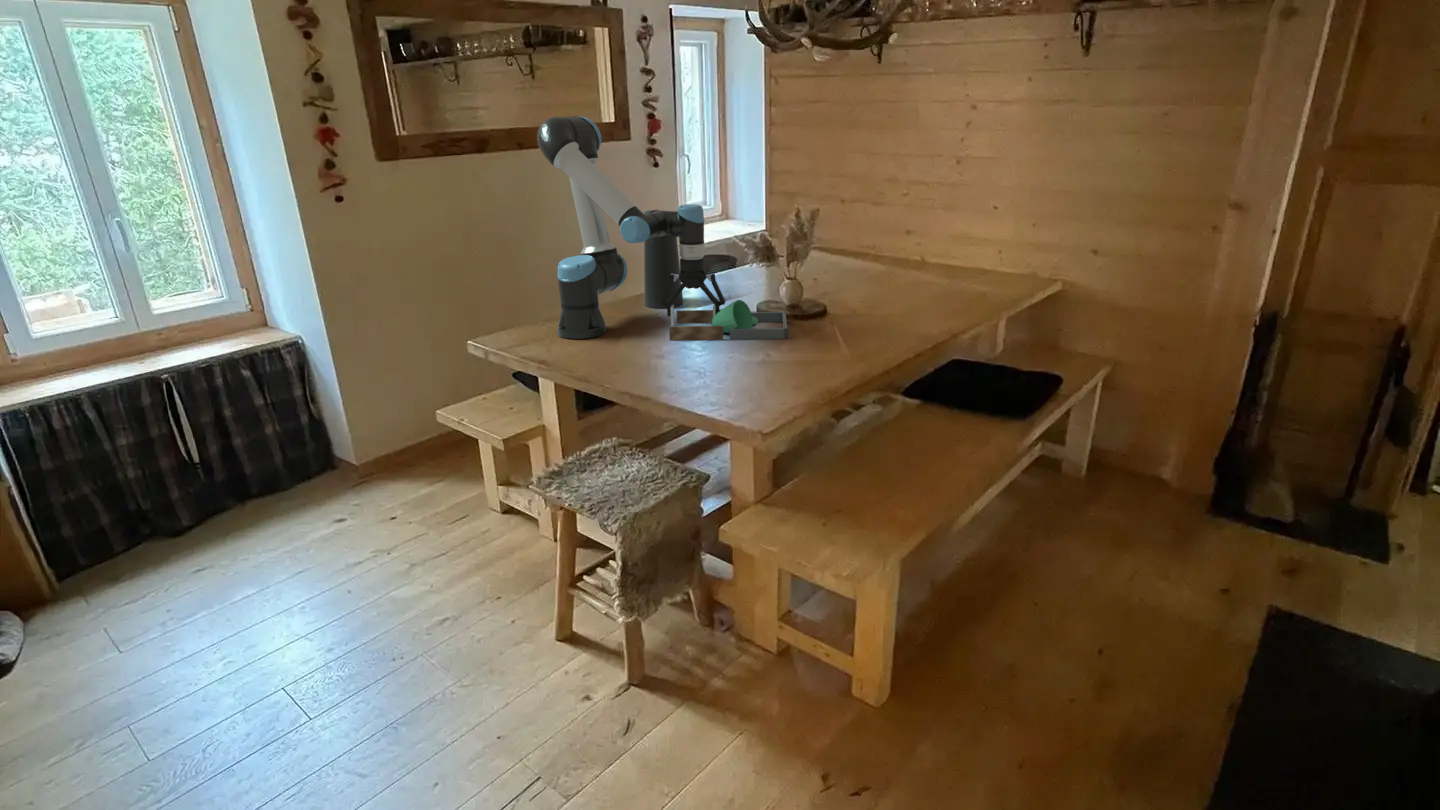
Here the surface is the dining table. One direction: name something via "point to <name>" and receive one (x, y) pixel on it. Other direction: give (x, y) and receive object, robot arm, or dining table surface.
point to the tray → (763, 332)
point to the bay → (695, 331)
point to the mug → (735, 317)
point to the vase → (661, 271)
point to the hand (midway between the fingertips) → (693, 326)
